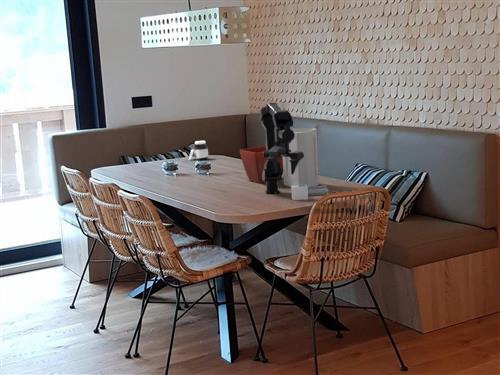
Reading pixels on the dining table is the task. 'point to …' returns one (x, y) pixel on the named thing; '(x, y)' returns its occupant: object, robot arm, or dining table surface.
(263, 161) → the plant pot
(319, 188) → the grey folded cloth
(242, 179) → the dining table surface
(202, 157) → the spread jar
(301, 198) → the module
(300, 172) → the paper bag
